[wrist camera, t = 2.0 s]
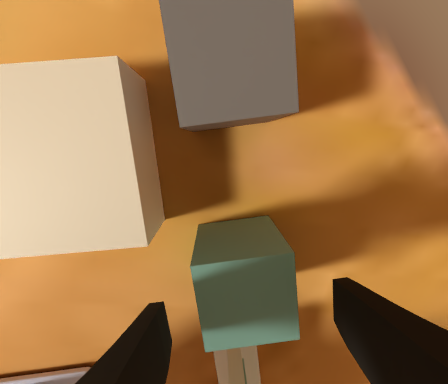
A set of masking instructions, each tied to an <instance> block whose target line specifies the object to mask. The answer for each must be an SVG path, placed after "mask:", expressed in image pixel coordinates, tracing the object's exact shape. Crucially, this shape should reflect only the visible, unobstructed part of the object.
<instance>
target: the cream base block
mask: <svg viewBox="0 0 448 384" xmlns="http://www.w3.org/2000/svg"><path fill="white" fill-rule="evenodd" d="M164 220H165V216H164V209H163V202H162V195H161V188H160V180H159V173H158V166H157V159H156V152H155V145H154V138H153V131H152V123H151V116H150V109H149V102H148V95H147V88H146V81H145V79H143V78H142V77H141V76H140V75H139V74H138V73H136V72H135V71H134V70H133V69H132V68H131V67H129V66H128V65H127V64H126V63H125V62H124V61H122V60H121V59H120V58H119V57H118V56H108V57H94V58H80V59H67V60H53V61H39V62H25V63H11V64H0V259H7V258H19V257H30V256H42V255H53V254H65V253H77V252H88V251H100V250H111V249H123V248H134V247H146V246H148V245H149V244H150V242H151V241H152V239H153V237H154V236H155V234H156V233H157V231H158V230H159V228H160V227H161V225H162V223H163V222H164Z"/></svg>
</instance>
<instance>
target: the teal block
mask: <svg viewBox="0 0 448 384" xmlns="http://www.w3.org/2000/svg"><path fill="white" fill-rule="evenodd" d="M190 268H191V274H192V279H193V285H194V291H195V296H196V302H197V308H198V314H199V319H200V325H201V331H202V336H203V342H204V348H205V352H211V351H219V350H226V349H233V348H241V347H248V346H255V345H263V344H270V343H277V342H285V341H292V340H299V339H300V332H299V317H298V301H297V285H296V270H295V254H294V251H293V250H292V248H291V247H290V246H289V244H288V243H287V241H286V240H285V238H284V237H283V236H282V234H281V233H280V231H279V230H278V229H277V227H276V226H275V224H274V223H273V221H272V220H271V219H270V217H269V216H268V215H267V216H260V217H252V218H245V219H237V220H229V221H222V222H214V223H207V224H199V225H198V230H197V235H196V240H195V245H194V250H193V255H192V260H191V265H190Z"/></svg>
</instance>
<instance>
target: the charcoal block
mask: <svg viewBox="0 0 448 384" xmlns="http://www.w3.org/2000/svg"><path fill="white" fill-rule="evenodd" d="M159 4H160V10H161V16H162V22H163V28H164V34H165V40H166V47H167V53H168V59H169V65H170V71H171V77H172V83H173V89H174V95H175V102H176V108H177V114H178V120H179V126H180V128H183V129H186V130H189V131H192V132H196V131H203V130H211V129H219V128H226V127H234V126H242V125H249V124H257V123H265V122H270V121H273V120H276V119H279V118H282V117H285V116H288V115H291V114H294V113H297V112H299V103H298V83H297V64H296V45H295V25H294V6H293V0H159Z"/></svg>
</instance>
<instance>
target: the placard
mask: <svg viewBox="0 0 448 384" xmlns="http://www.w3.org/2000/svg"><path fill="white" fill-rule="evenodd" d="M213 353H214V359H215V365H216V371H217V377H218V383H219V384H261V379H260V370H259V361H258V353H257V345H255V346H248V347H241V348H233V349H226V350H219V351H213Z"/></svg>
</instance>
